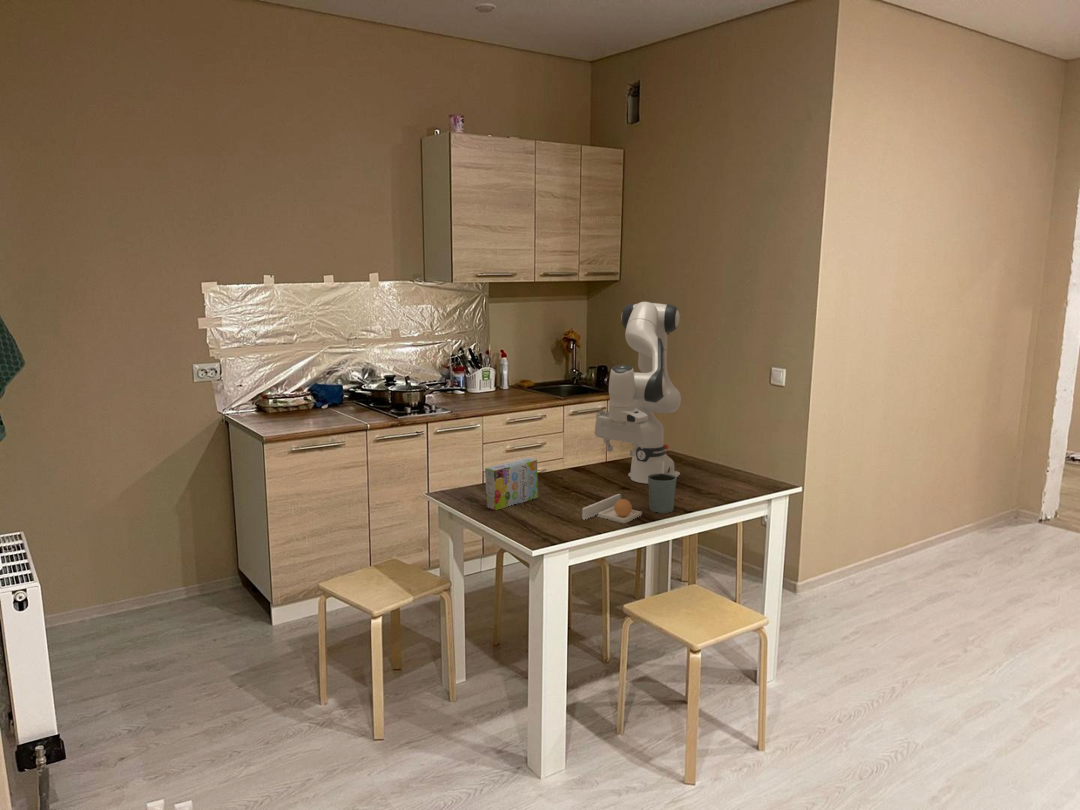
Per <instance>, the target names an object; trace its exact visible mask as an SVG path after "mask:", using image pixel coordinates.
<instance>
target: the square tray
mask: <svg viewBox="0 0 1080 810" xmlns="http://www.w3.org/2000/svg"><path fill="white" fill-rule="evenodd" d="M641 515H643V511H639V510H635V509H632V510H631V513H630V514H629V515H627V516H624V517H622V516H619V515H618V514H617V513H616V512H615V509H614V507H611V508H609V509H606V510H604V511H602V512H599V513H598V515H597V518H599V517H600V518H599V519H603V518H604V519H603V520H607V519H608V521H611V522H612V521H613V522H616V523H620V524H624V525H625V524H627V523H629V522H631V521H633V519H634V520H636V519H637V517H638V518H640V517H642V516H641ZM639 516H640V517H639ZM635 518H636V519H635Z"/></svg>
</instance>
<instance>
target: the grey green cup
mask: <svg viewBox="0 0 1080 810" xmlns="http://www.w3.org/2000/svg"><path fill="white" fill-rule="evenodd" d="M677 478H678V477H676V476H674V475H670V474H651V475H649V476H648V484H647V485H648V507H649V508H648V509H649V511H650V512H652V511H654V512H653V513H655V512H658V513H657V514H669V512H670V513H672V512H673V511H674V508H675V496H676V485H677V480H678V479H677Z"/></svg>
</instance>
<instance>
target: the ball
mask: <svg viewBox="0 0 1080 810" xmlns="http://www.w3.org/2000/svg"><path fill="white" fill-rule="evenodd" d="M614 509H615V512H616V513H617V514H618V515H619V516H622V517H624V516H627V515H629V514H630V513H631V510H633V506H632V503H631V501H629V500H628V499H626V498H621V499H620V500H618V501H617V502H616V503H615V506H614Z"/></svg>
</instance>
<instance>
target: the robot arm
mask: <svg viewBox="0 0 1080 810" xmlns="http://www.w3.org/2000/svg"><path fill="white" fill-rule="evenodd" d="M677 307H678V306H676V305H674V304H669V303H667V304H666V303H665V304H664V303H659V302H657V303H656V302H649V301H640V302H638V303H627V304H626V305H625V306H624V307H623V309H622V312H621V315H620V318H621V319H620V320H621V325H622V327H623V328H624V329H625V333H624V335H625V337H624V338H625V341H626V343H627V345H628V346H629V348H631V349H632V350H633V351H635V352H637V353H638V358H637V361H638V362H637V367H638V369H639V371H640V372H635V371H634V368H633V367H634V366H631V365H628V364H617V365H615V366H612V368H611V370H610V372H609V373H610V374H609V380H608V395H609V401H608V411H607V410H599V411H598V412H597V413H596V415H595V420H596V421H595V425H594V435H595V437H597V438H602V439H603V443H604V444H605V447H606V452H610V453H611V452H613V451H614V449H613V448H614V447H613V446H614V445H611V443H610V441H611V440H612V441H617V442H618V441H619V442H623V443H630V444H632V449H629V456H631V457H632V458H631V464H630V465H631V466H630V472H628V474H627V475H628V477H630V480H631V481H633V482H636V483H638V484H639V483H640V484H646V485H648V476H649V475H651V474H670V475H674V476H676V477H677V478H678V477H680V476H681V472H679V471H677V470H675V461H674V460H673V459H672V458H671V457H670V456H668V454H666V453H667V452H666V450H667V451H668V450H669V447H670V445H669V444H666V443H664V439H665V437H664V436H665V435H664V433H665V428H664V426H663V423H661V422H660V421H659V420H658V418H657V417H656V415H655V414H654V413H658V414H671V413H675V412H676V411H678V409H679V408H680V406H681V404H682V395H681V393H680V391H679V390H678V388H677V387H676V386H675V385H674V384H673V382H672V380H671V379H670V376H669V372H668V360H667V359H668V336H669V335H670V333H673V332H675V330H677V328H678V325H679V323H680V320H681V318H680V317H681V316H680V312H679V308H677ZM679 475H680V476H679Z"/></svg>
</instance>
